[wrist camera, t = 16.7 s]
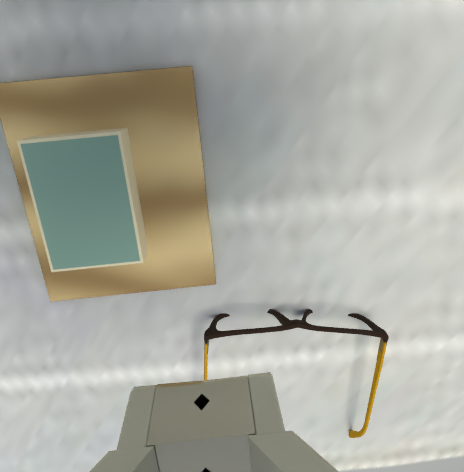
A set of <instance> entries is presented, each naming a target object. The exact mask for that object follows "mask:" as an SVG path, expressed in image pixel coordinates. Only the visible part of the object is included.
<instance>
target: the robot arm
mask: <svg viewBox="0 0 464 472" xmlns="http://www.w3.org/2000/svg"><path fill="white" fill-rule="evenodd" d="M90 472H338V471H337V470H336V469H335V468H334V467H333V466H332V465H331V464H329V463H328V462H327V461H326V460H325V459H324V458H323V457H321V456H320V455H319V454H318V453H317V452H316V451H315V450H314V449H312V448H311V447H310V446H309V445H308V444H307V443H306V442H305V441H303V440H302V439H301V438H300V437H299V436H298V435H297V434H295V433H294V432H293V431H285V429H284V424H283V420H282V416H281V411H280V407H279V403H278V398H277V394H276V389H275V385H274V381H273V376H272V374H271V373H270V372H267V373H259V374H252V375H248V376H239V377H231V378H222V379H213V380H205V381H193V382H181V383H169V384H158V385H150V386H138V387H134V388H133V389H132V391H131V393H130V397H129V401H128V405H127V409H126V413H125V417H124V422H123V426H122V430H121V434H120V438H119V442H118V446H117V450H115V451H109V452H108V453H107V454H106V455H105V456H104V457H103V458H102V459H101V460H100V461H99V462H98V463H97V464H96V465H95V467H94V468H93V469H92V470H91V471H90Z"/></svg>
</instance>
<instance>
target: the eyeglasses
mask: <svg viewBox="0 0 464 472" xmlns="http://www.w3.org/2000/svg"><path fill="white" fill-rule="evenodd" d="M267 313H270V314H273V315H274V316H275V317H276V318H277V319H278V320H279V322H280V323H281V324H282V326H276V327H266V328H255V329H242V330H230V331H218V330H217V329H216V324H217V322H218V321H219V320H220V319H222V318H224V317H228V316H230V315H229V314H220V315H218V316H216V317H215V318H214V319H213V321H212V323H211V325H210V327H209V328H208V329H207V330H206V331H205V334H204V341H205V352H204V381H205V380H207V353H208V352H207V350H208V346H209V340H210V339H213V338H219V337H225V336H232V335H241V334H253V333H265V332H275V331H283V330H289V329H293V328H303V329H308V330H314V331H324V332H337V333H349V334H361V335H369V336H375V337H380V338H381V340H380V345H379V350H378V355H377V363H376V368H375V373H374V378H373V383H372V388H371V393H370V398H369V403H368V408H367V413H366V418H365V423H364V425H363V428H362V429H361V431H359V432H357V431H353V430H350V432H349V437H350V438H356V437H361V436H362V435H364V433H365V432H366V429H367V427H368V423H369V419H370V414H371V410H372V406H373V402H374V398H375V393H376V389H377V385H378V381H379V376H380V372H381V368H382V364H383V359H384V354H385V350H386V345H387V341H388V335H387V333H386V332H385V331H384V330H383V329H381V328H380V327H378V326H377V325H376V324H374V323H373V322H372V321H370V320H369V319H367V318H366V317H364V316H362V315H359V314H355V313H352V314H348V316H351V317H354V318H357V319H359V320H362V321H363V322H365V323H366V324H367V325H368V326H369V327H370V328H371V329H372V330H373V331H371V330H360V329H347V328H334V327H322V326H315V325H311V324H308V323H307V322H306V317H307V316H308V315H309V314H310V313H313V312H312V310H310V309H308V310H306V311H305V313H304V315H303V318H302V320H297V319H296V320H289V319H288V318H286V317H285V316H284V315H282V314H281V313H279V312H277V311H275V310H273V309H270V310H269V311H268V312H267Z"/></svg>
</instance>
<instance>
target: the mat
mask: <svg viewBox="0 0 464 472" xmlns="http://www.w3.org/2000/svg"><path fill="white" fill-rule="evenodd" d="M0 118H1V122H2V126H3V129H4V133H5V137H6V140H7V144H8V148H9V151H10V155H11V159H12V162H13V166H14V170H15V173H16V177H17V181H18V184H19V188H20V192H21V195H22V199H23V203H24V206H25V210H26V214H27V217H28V221H29V225H30V228H31V232H32V236H33V239H34V243H35V247H36V250H37V254H38V258H39V261H40V265H41V269H42V272H43V276H44V280H45V283H46V287H47V291H48V294H49V298H50V302H51V301H60V300H70V299H80V298H89V297H99V296H108V295H118V294H127V293H137V292H147V291H156V290H166V289H175V288H185V287H195V286H204V285H214V284H216V279H215V270H214V261H213V251H212V242H211V233H210V224H209V215H208V206H207V197H206V188H205V179H204V170H203V161H202V152H201V142H200V133H199V124H198V115H197V106H196V97H195V88H194V79H193V70H192V66H187V67H176V68H164V69H153V70H142V71H131V72H119V73H108V74H97V75H86V76H75V77H63V78H52V79H41V80H30V81H19V82H7V83H0ZM118 128H128V134H129V140H130V145H131V151H132V157H133V163H134V169H135V175H136V181H137V187H138V193H139V199H140V205H141V210H142V216H143V222H144V228H145V234H146V240H147V246H148V251H147V254H146V257H145V260H144V263H137V264H128V265H118V266H108V267H98V268H89V269H79V270H69V271H59V272H51V269H50V265H49V261H48V258H47V254H46V250H45V246H44V243H43V239H42V235H41V231H40V227H39V224H38V220H37V216H36V212H35V208H34V205H33V201H32V197H31V193H30V190H29V186H28V182H27V178H26V174H25V171H24V167H23V163H22V159H21V156H20V152H19V148H18V144H17V141H19V140H22V139H26V138H29V137H33V136H43V135H54V134H65V133H75V132H86V131H97V130H108V129H118Z"/></svg>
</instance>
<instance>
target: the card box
mask: <svg viewBox="0 0 464 472" xmlns="http://www.w3.org/2000/svg"><path fill="white" fill-rule="evenodd" d="M17 144H18V148H19V152H20V156H21V159H22V163H23V167H24V171H25V174H26V178H27V182H28V186H29V190H30V193H31V197H32V201H33V205H34V208H35V212H36V216H37V220H38V224H39V227H40V231H41V235H42V239H43V243H44V246H45V250H46V254H47V258H48V261H49V265H50V269H51V272H59V271H69V270H79V269H89V268H98V267H108V266H118V265H128V264H137V263H144V260H145V257H146V254H147V251H148V246H147V240H146V234H145V228H144V222H143V216H142V210H141V205H140V199H139V193H138V187H137V181H136V175H135V169H134V163H133V157H132V151H131V145H130V140H129V134H128V128H118V129H108V130H97V131H86V132H75V133H65V134H54V135H43V136H33V137H29V138H26V139H22V140H19V141H17Z"/></svg>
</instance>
